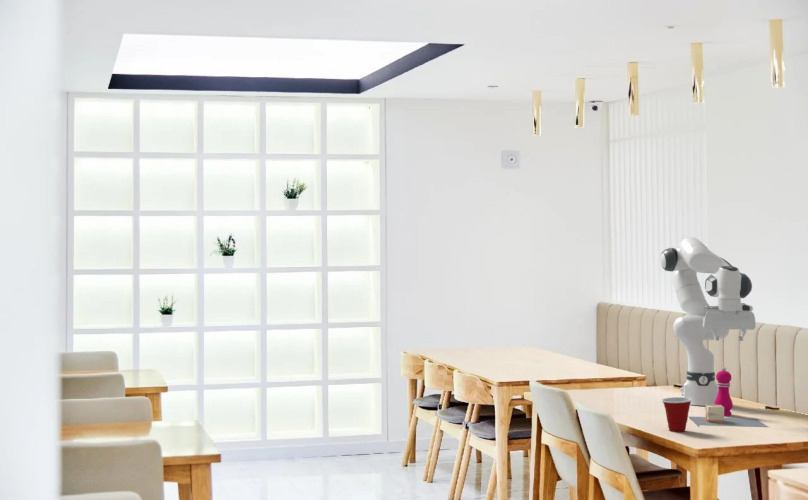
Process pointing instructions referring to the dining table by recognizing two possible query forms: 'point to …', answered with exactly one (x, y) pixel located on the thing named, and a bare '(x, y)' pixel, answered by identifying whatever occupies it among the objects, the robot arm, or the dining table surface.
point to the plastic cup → (677, 412)
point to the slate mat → (730, 422)
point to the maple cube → (714, 413)
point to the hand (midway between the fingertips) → (728, 340)
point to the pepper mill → (724, 391)
